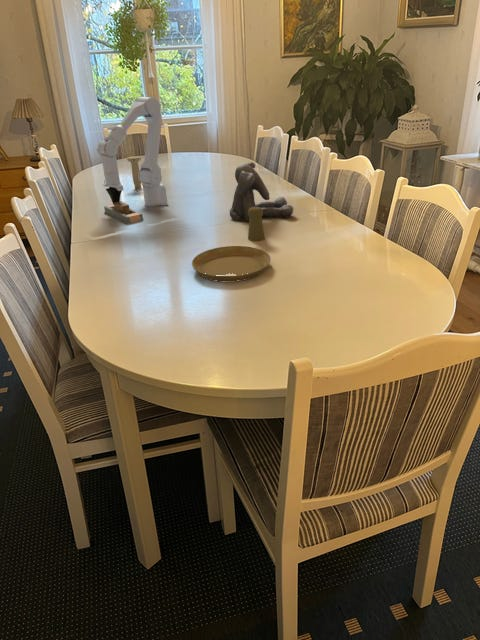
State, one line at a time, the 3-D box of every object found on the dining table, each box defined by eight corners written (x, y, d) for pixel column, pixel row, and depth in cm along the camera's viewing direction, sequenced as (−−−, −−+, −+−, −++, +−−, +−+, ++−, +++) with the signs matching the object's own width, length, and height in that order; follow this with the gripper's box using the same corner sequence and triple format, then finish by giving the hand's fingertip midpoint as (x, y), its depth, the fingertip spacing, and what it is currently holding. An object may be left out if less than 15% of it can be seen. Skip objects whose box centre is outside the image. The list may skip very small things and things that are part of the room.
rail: (121, 210, 223) (120, 202, 222) (144, 221, 207) (143, 213, 206) (104, 214, 219) (102, 206, 218) (126, 226, 203) (125, 217, 202)
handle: (144, 188, 257) (140, 157, 250) (131, 189, 256) (126, 158, 249) (144, 186, 261) (140, 155, 254) (132, 187, 260) (127, 156, 253)
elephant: (295, 221, 199) (295, 166, 189) (230, 225, 199) (226, 170, 189) (289, 206, 217) (289, 155, 207) (230, 209, 217) (227, 159, 207)
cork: (267, 235, 185) (266, 205, 180) (262, 241, 180) (261, 210, 175) (250, 234, 187) (249, 204, 182) (245, 240, 182) (244, 209, 177)
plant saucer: (244, 291, 145) (244, 280, 143) (176, 276, 157) (175, 266, 155) (284, 262, 163) (284, 252, 161) (221, 251, 174) (220, 241, 173)
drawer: (122, 213, 217) (120, 201, 214) (130, 217, 211) (128, 204, 208) (115, 214, 215) (113, 202, 213) (123, 218, 209) (122, 206, 207)
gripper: (94, 171, 212) (100, 203, 218) (109, 176, 201) (114, 210, 208) (110, 168, 215) (116, 200, 222) (125, 173, 205) (130, 207, 211)
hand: (116, 205), depth 215 cm, fingers closed
